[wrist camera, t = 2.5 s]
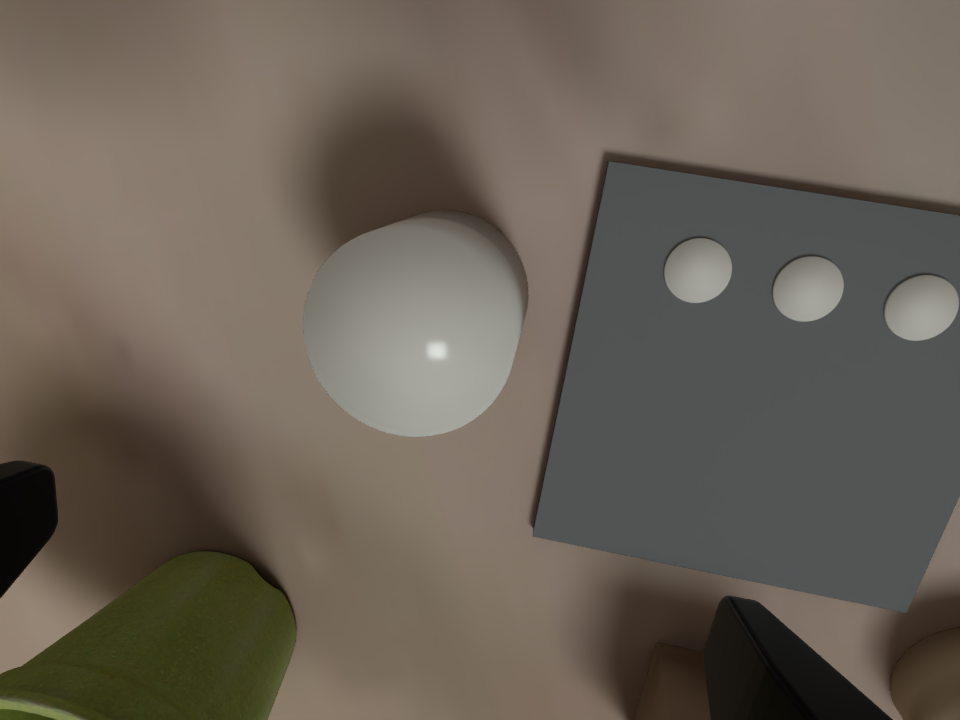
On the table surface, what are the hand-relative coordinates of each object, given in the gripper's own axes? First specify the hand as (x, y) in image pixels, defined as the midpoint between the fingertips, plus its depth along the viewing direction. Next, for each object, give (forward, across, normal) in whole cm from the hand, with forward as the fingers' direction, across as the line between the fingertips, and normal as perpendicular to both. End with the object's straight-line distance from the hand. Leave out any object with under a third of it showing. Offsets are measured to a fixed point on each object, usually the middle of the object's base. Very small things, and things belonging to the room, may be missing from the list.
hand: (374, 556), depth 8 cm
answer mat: (+11, -9, +1) cm, 14 cm away
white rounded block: (+12, +1, -1) cm, 12 cm away
